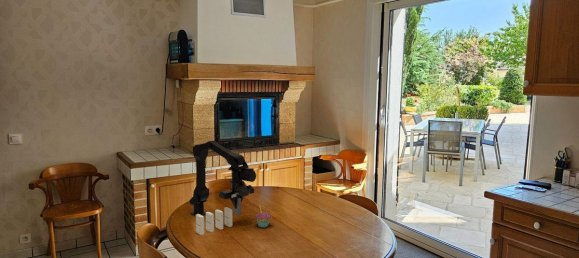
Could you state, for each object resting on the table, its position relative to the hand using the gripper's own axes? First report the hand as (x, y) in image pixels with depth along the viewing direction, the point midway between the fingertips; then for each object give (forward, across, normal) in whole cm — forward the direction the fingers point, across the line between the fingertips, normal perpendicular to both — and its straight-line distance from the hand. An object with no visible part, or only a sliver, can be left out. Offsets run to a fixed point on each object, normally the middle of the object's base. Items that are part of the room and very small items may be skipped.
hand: (237, 208), depth 208 cm
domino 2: (+8, -16, 0) cm, 18 cm away
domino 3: (+8, -11, 0) cm, 14 cm away
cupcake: (+8, +8, -12) cm, 17 cm away
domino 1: (+8, -22, 0) cm, 23 cm away
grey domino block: (+3, 0, 0) cm, 3 cm away
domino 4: (+8, -6, 0) cm, 10 cm away
